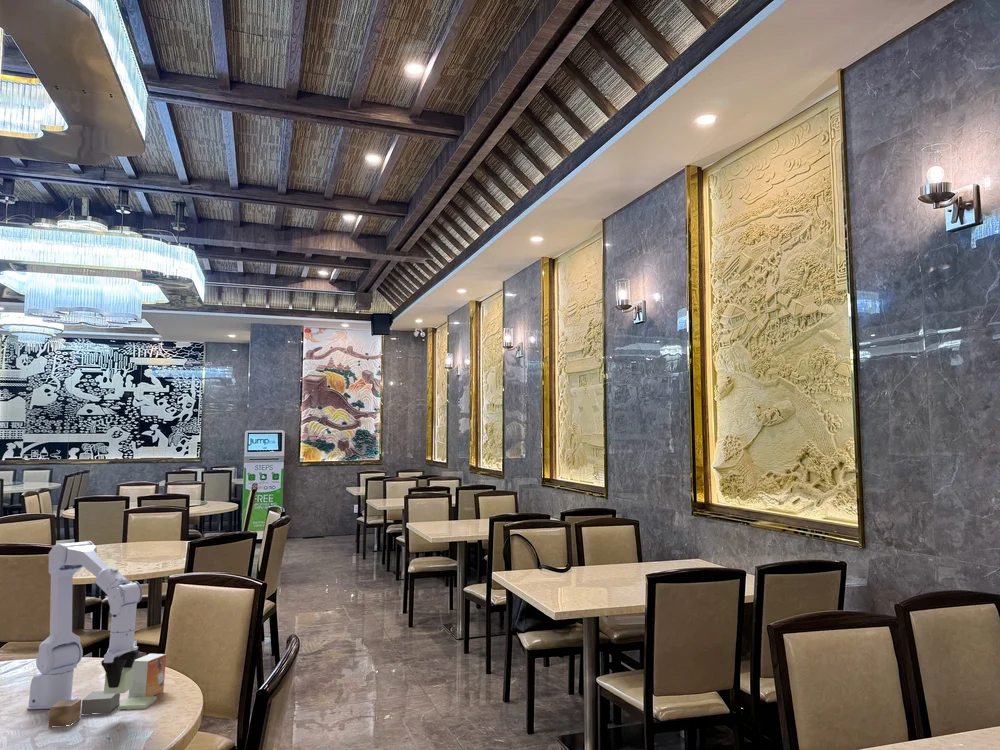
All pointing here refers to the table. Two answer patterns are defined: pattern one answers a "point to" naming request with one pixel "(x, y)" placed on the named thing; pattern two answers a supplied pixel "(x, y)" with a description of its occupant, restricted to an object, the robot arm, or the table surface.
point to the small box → (148, 675)
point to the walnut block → (64, 712)
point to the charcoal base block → (99, 702)
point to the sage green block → (121, 682)
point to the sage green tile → (137, 702)
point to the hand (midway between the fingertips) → (118, 683)
